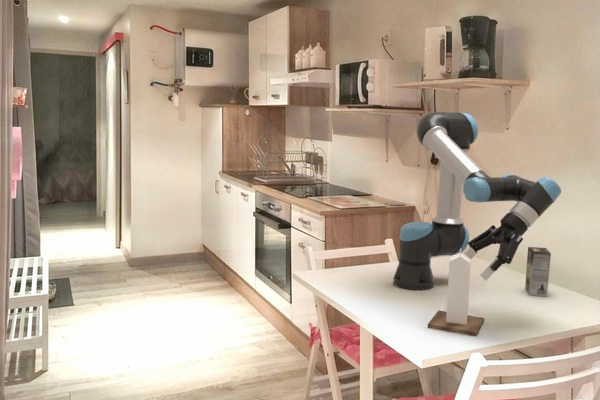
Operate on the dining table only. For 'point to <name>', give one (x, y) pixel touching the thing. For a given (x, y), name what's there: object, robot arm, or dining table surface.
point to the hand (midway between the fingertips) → (470, 271)
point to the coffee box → (537, 271)
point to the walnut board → (469, 329)
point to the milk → (458, 289)
